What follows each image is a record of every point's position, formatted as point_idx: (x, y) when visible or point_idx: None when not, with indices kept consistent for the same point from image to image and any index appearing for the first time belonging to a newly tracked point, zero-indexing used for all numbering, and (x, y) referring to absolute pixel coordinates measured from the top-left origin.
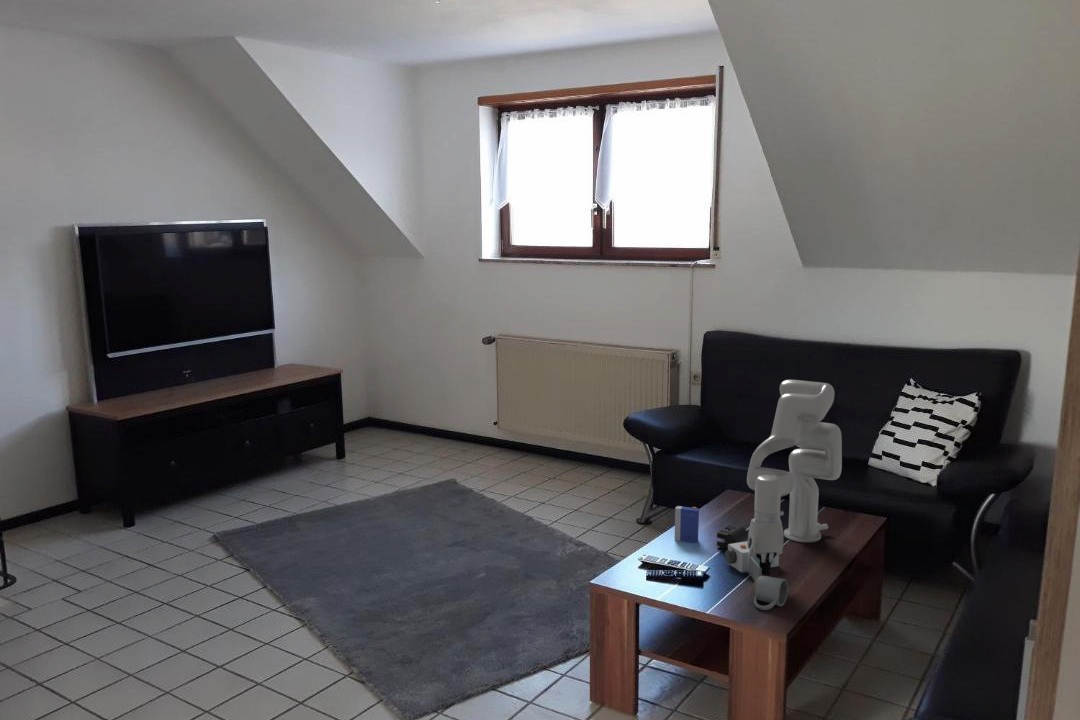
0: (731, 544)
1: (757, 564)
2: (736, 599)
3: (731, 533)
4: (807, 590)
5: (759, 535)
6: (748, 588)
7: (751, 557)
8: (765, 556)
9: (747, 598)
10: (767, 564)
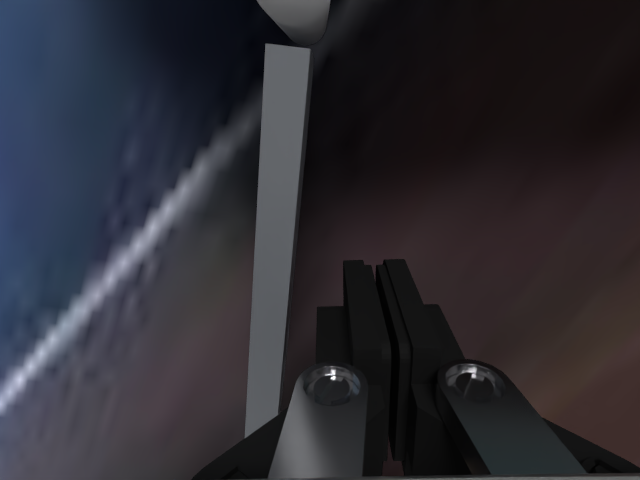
0: None
1: (269, 380)
2: (48, 474)
3: None
4: (601, 434)
5: None
6: (180, 346)
7: (281, 106)
8: (444, 398)
9: (127, 472)
10: (390, 443)
